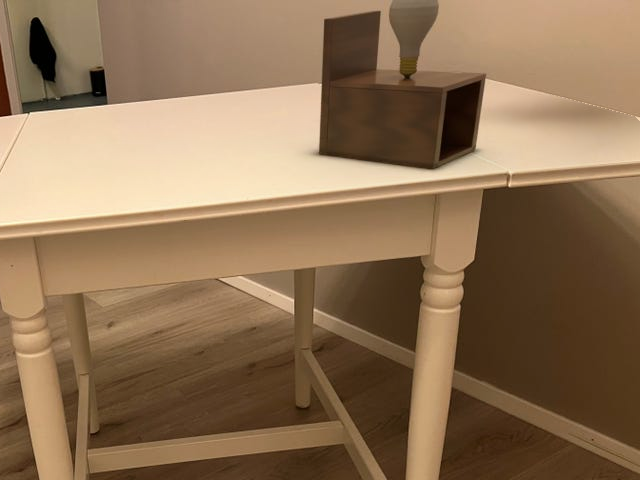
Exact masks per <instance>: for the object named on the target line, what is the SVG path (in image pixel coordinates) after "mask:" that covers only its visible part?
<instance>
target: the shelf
mask: <svg viewBox="0 0 640 480" xmlns="http://www.w3.org/2000/svg"><path fill="white" fill-rule="evenodd" d="M381 16H382V11H381V10H369V11H364V12H363V11H362V12H358V13H352V14H346V15H340V16H334V17H327V18H324V19H323V37H322V38H323V39H322V41H323V42H322V63H321V65H322V66H321V68H322V69H321V88H320V89H321V94H320V117H319V118H320V120H319V140H318V141H319V144H318V154H319V155H323V156H324V155H325V156H331V157H338V158H345V159H354V160H362V161H368V162H369V161H370V162H376V163H384V164H385V163H386V164H390V165H391V164H392V165H399V166H405V167H406V166H407V167H414V168H423V169H430V170H435V169H437V168H439V167H442V166H443V165H445V164H447V163H450V162H453V161H454V160H457V159H459V158H461V157H463V156H465V155H467V154H469V153H471V152H475V150H476V148H477V143H478V142H477V141H478V134H479V129H480V128H479V127H480V122H481V121H480V120H481V113H482V106H483V99H484V92H485V86H486V79H487V73H485V72H462V71H459V72H458V71H435V70H434V71H433V70H432V71H431V70H417V72H416V73H415V74H413V75H411V76H410V77H404V75H402V74H400V73H399V71H400V69H381V68H380V69H379V68H378V56H379V44H380V43H379V42H380V30H381V29H380V28H381Z"/></svg>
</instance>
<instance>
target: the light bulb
mask: <svg viewBox="0 0 640 480" xmlns="http://www.w3.org/2000/svg"><path fill="white" fill-rule="evenodd" d="M439 8H440V5H439V0H392V1H391V3H390V6H389V9H388V19H389V25H390V26H391V29H392V31H393V33H394V35H395V38H396V40H397V42H398V44H399V56H398V57H399V68H398V70H400V71H399V73H400V74H402V75H404V77H410V76H411V75H413V74H415V73H416V72H417V71H418V69H417V68H418V61H419V57H420V53H421V52H420V51H421V47H422V44H423V42H424V40H425V39H426V37H427V35H428V34H429V32H430V31H431V29H432V28H433V26H434V24H435V22H436V21H437V18H438V14H439Z"/></svg>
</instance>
